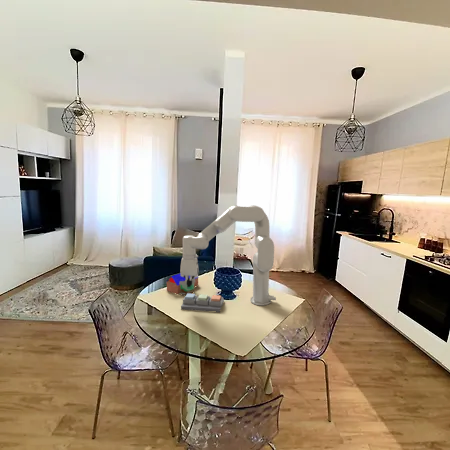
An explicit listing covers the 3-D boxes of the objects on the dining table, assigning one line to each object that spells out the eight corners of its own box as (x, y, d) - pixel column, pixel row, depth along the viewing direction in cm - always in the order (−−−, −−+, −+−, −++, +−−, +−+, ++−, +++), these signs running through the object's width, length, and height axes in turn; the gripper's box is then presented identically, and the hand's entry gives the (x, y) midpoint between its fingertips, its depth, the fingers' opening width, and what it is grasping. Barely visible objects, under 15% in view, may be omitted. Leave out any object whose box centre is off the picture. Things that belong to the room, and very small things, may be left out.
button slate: (195, 297, 156) (195, 293, 155) (193, 301, 151) (193, 297, 150) (187, 297, 156) (187, 293, 156) (185, 300, 152) (184, 296, 151)
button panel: (223, 301, 158) (223, 294, 157) (219, 312, 144) (219, 304, 144) (188, 299, 161) (188, 292, 161) (181, 309, 148) (180, 302, 147)
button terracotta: (221, 299, 153) (221, 295, 153) (219, 303, 148) (219, 299, 148) (212, 298, 154) (212, 295, 154) (211, 302, 149) (211, 298, 149)
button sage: (208, 298, 154) (208, 294, 154) (206, 302, 149) (206, 298, 149) (200, 298, 155) (200, 294, 155) (198, 301, 150) (197, 297, 150)
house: (166, 290, 175) (165, 274, 173) (187, 282, 191) (187, 267, 189) (177, 295, 168) (177, 278, 166) (198, 286, 183) (198, 270, 182)
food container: (186, 298, 163) (185, 283, 161) (179, 295, 167) (179, 281, 165) (199, 291, 173) (199, 277, 171) (192, 289, 176) (192, 275, 175)
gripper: (203, 255, 152) (203, 284, 155) (179, 254, 155) (179, 283, 157) (199, 258, 145) (199, 289, 148) (174, 257, 147) (175, 287, 150)
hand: (189, 286), depth 152 cm, fingers closed
